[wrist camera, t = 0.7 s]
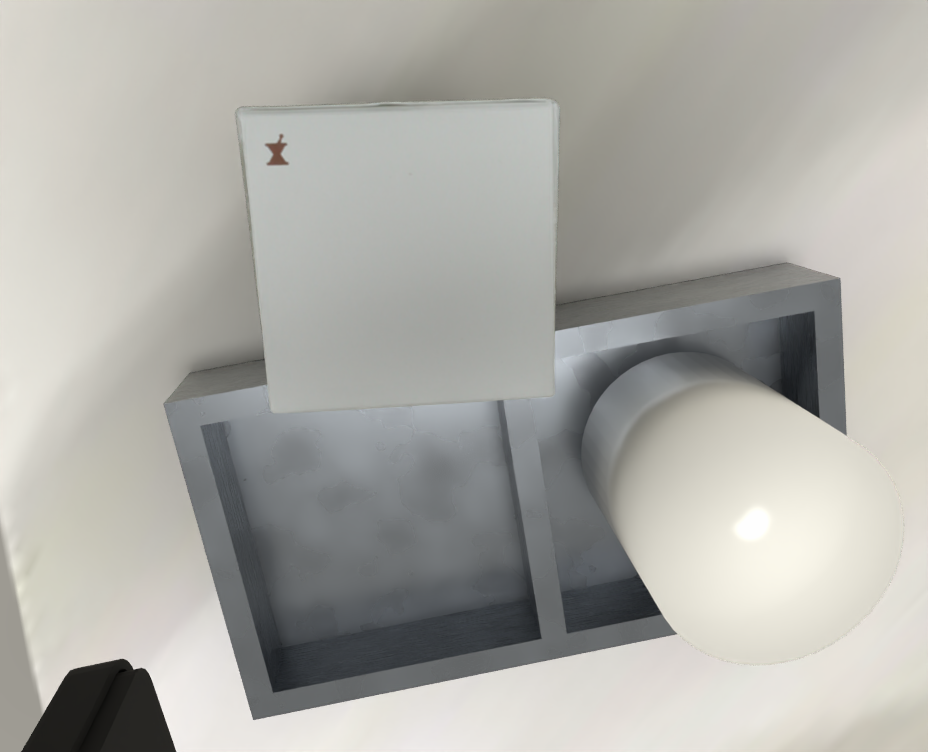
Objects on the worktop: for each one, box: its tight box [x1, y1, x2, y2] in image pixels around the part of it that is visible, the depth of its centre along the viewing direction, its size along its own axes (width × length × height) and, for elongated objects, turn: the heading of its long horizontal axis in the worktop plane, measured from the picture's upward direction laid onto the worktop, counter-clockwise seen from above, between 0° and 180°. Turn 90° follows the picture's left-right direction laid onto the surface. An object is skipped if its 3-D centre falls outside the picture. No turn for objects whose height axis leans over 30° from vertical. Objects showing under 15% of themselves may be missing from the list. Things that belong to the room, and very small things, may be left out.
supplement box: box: [235, 98, 560, 413], centre depth 25 cm, size 7×7×13 cm
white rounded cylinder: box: [581, 352, 904, 665], centre depth 30 cm, size 8×8×9 cm
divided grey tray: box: [164, 263, 847, 720], centre depth 33 cm, size 13×24×4 cm, turn 100°
